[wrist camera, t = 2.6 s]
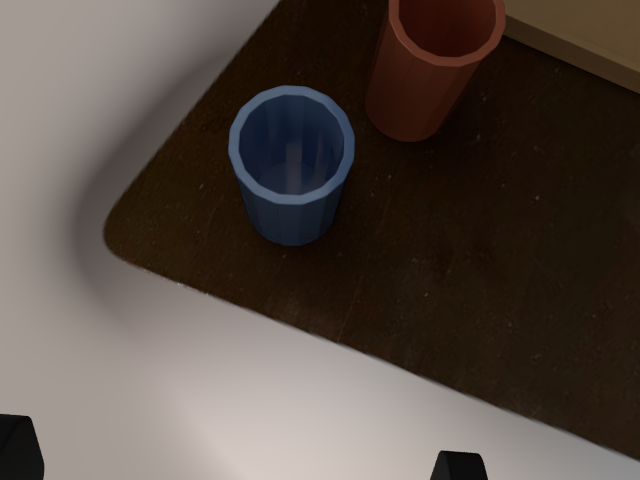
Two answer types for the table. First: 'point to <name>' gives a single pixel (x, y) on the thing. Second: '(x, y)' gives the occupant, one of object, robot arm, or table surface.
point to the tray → (582, 34)
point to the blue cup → (291, 162)
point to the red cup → (428, 62)
